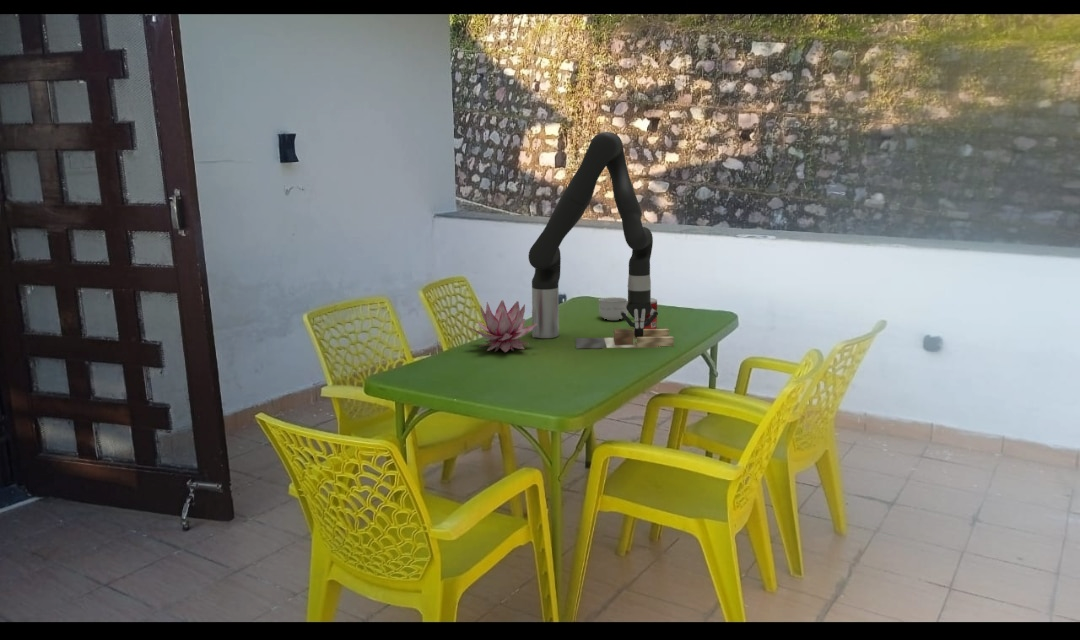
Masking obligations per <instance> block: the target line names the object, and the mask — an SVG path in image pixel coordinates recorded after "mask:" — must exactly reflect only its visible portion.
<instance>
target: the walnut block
mask: <svg viewBox="0 0 1080 640" xmlns="http://www.w3.org/2000/svg"><path fill="white" fill-rule="evenodd" d="M613 338H614V343H615V345H633V328H613Z"/></svg>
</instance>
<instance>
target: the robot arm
mask: <svg viewBox="0 0 1080 640" xmlns="http://www.w3.org/2000/svg"><path fill="white" fill-rule="evenodd" d="M605 168H606V169H607V172H608V174H609V176H610V180H611V186H612V193H613V198H614V202H615V206H616V208H617V211H618V214H619V217H620V219H621V224H622V230H623V236H624V239H625V242H626V245H627V246H628V247H629V248H630V249H631V251H632V252H631V257H630V258H629V260H628V276H627V277H628V278H627V301H628V304H627V306H626V309H625V310H624V311H621V312H620V314H621V316H622V317H623V318H622V319H624V321H625V322H626V323H627V324H628V326H630V327H631V328H633V329H634V335H635V338H637V337H643V329H644V327H646V326H647V327H648V326H649V325H650V324H651V322H652V321H653V320H654V319H655V317H656V316H657V317H658V315H659V312H658V310H657V311H656V310H654V309H653V308H652V306H651V298H652V297H651V296H652V295H651V293H652V292H651V291H652V289H651V288H652V285H651V284H652V282H651V281H652V280H651V257H652V251H653V244H654V241H653V239H654V237H653V234H652V231H651V229H649V228H648V227H646V226H643V222H642V216H643V215H642V214H643V213H642V209H641V206H640V204H639V200H638V198H637V195H636V193H635V190H634V186H633V184H632V181H631V177H630V174H629V170H628V166H627V162H626V156H625V151H624V145H623V140H622V139H621V138H620V136H619V135H618V134H616V133H613V132H608V131H604V132H602V131H601V132H599V133H597V134H596V135H594V137H592V139H591V141H590V143H589V144H588V147H587V150H586V152H585V154H584V157H583V159H582V161H581V163H580V164H579V167H578V169H576V172H575V173H574V175H573V176H572V178H571V180H570V182H569V183H568V185H567V186H566V188H565V189H564V191H563V193H562V194H561V197H560V199H559V200H558V202H557V204H556V206H555V207H554V209H553V211H552V214H551V215H550V217H549V220H548V221H547V223H546V226H545V228H543V230H542V231H541V234H540V235H539V236H538V237H537V239H536V240H535V241H534V243H533V244H532V246H531V247H530V248H529V250H528V251H529V252H528V262H529V264H530V266H532V268H534V274H533V277H532V279H531V307H532V309H531V322H532V324H531V325H534V324H537V325H536V326H535V327H534V328H533V329H532V330H531V332H532V333H531V334H532V338H538V339H552V338H557V337H560V327H559V326H560V318H559V317H560V316H559V315H560V314H559V313H560V312H559V311H560V310H559V306H560V305H559V304H560V303H559V302H560V301H559V299H560V298H559V282H560V278H561V261H562V260H561V259H562V258H561V249H560V246H561V243H563V241H564V239H565V237H566V236H567V235H568V234H569V233H570V231H572V229H573V228H574V227H575V226H576V225H577V224H578V222H579V221H580V220H581V218H582V216H583V215H584V213H585V212H586V210H587V208H588V206H589V205H590V203H591V201H592V199H593V196H594V192H595V189H596V186H597V183H598V179H599V177H600V176H601V174H602V173H603V171H604V169H605ZM650 311H651V312H650ZM627 312H629V313H627ZM649 312H650V316H649V318H648V319H647V320H646V321H645V317H646V316H647V315H648V314H649ZM629 314H630V316H631V317H632V318H633V321H632V320H631V319H630V317H629ZM638 318H640V323H638ZM644 321H645V322H644Z"/></svg>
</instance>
